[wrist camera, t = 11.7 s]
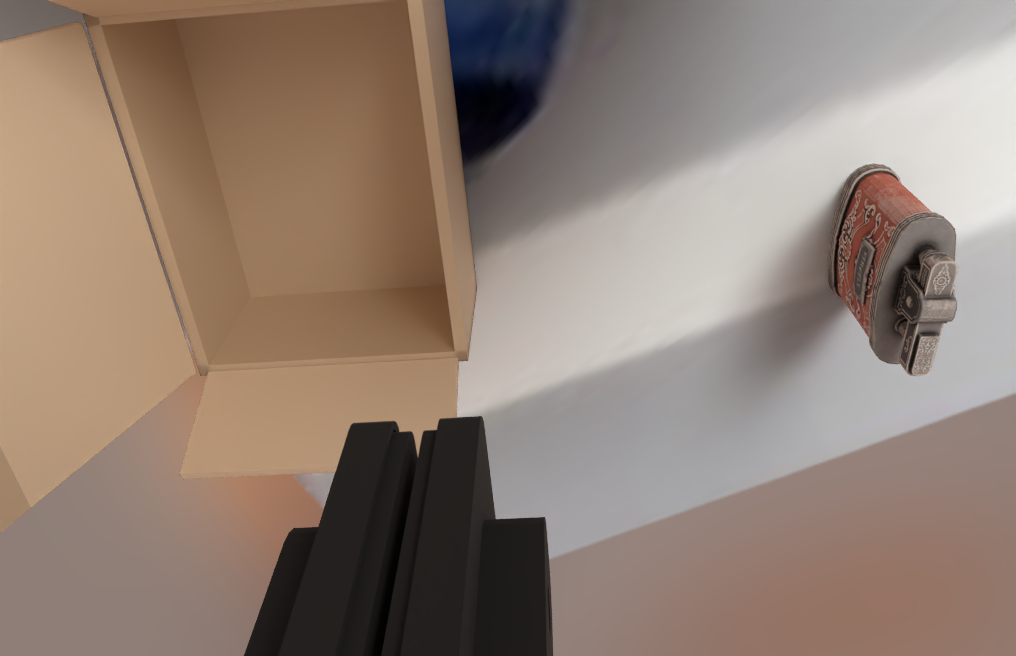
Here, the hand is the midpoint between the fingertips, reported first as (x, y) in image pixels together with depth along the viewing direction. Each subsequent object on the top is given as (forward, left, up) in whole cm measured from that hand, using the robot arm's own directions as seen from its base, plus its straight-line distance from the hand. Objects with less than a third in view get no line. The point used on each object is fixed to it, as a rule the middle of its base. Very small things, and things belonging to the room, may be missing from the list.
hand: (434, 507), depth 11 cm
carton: (+10, +6, -35) cm, 37 cm away
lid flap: (+19, +6, -21) cm, 29 cm away
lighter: (-19, +13, -35) cm, 42 cm away
